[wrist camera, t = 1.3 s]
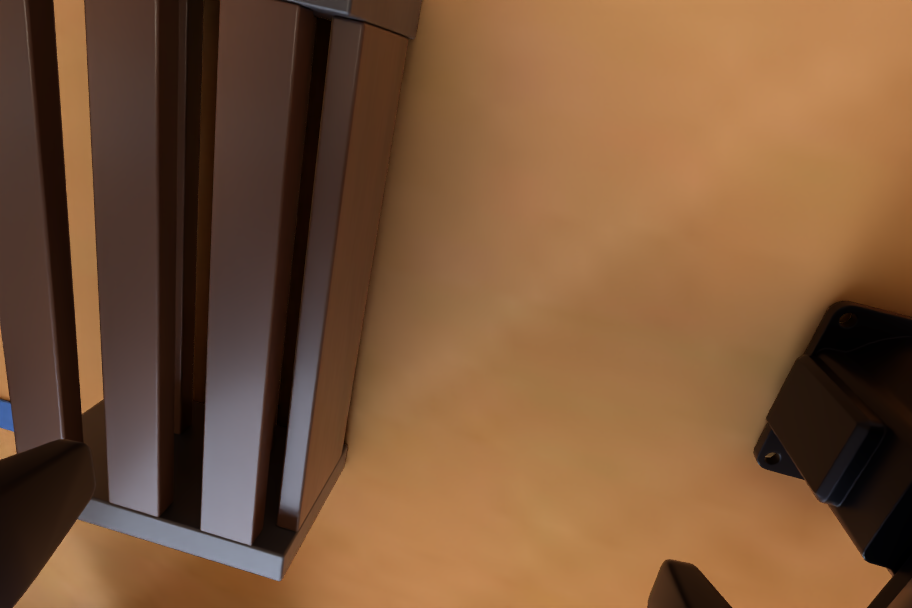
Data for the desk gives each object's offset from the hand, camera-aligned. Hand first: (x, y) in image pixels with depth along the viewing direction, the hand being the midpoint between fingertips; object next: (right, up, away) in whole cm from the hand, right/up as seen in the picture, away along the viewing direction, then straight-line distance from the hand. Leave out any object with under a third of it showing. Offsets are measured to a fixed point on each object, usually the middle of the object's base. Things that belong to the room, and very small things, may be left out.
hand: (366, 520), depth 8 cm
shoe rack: (-6, +6, +12) cm, 15 cm away
